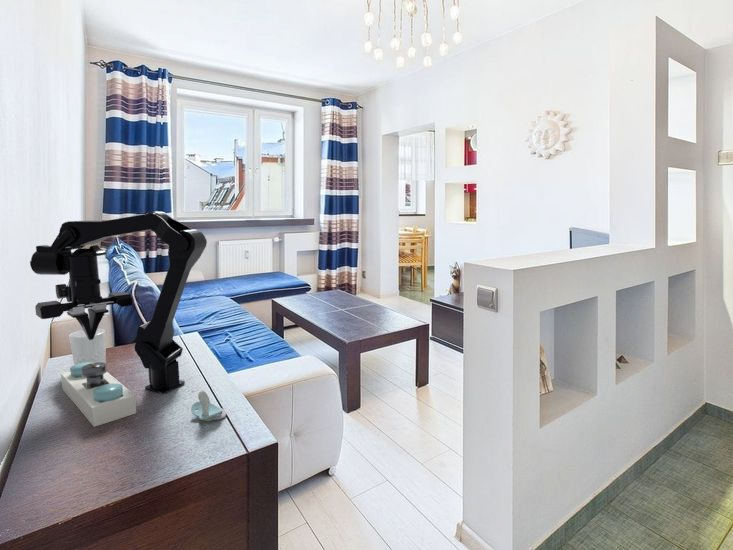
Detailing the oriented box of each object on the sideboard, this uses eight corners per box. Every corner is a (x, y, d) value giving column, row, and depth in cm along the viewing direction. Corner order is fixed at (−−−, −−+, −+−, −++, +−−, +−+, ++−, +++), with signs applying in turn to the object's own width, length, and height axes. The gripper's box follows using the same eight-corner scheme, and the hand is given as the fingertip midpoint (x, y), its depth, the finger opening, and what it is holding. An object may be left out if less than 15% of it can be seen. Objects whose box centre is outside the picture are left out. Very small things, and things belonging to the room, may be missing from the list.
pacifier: (214, 406, 93) (188, 415, 88) (214, 379, 92) (187, 387, 87) (232, 418, 88) (205, 428, 84) (232, 389, 87) (205, 398, 83)
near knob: (127, 409, 89) (126, 388, 88) (99, 418, 85) (97, 396, 84) (119, 401, 92) (117, 381, 91) (92, 409, 88) (89, 388, 87)
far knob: (101, 384, 101) (99, 365, 100) (75, 391, 97) (73, 372, 96) (94, 378, 104) (92, 360, 103) (69, 384, 100) (67, 366, 100)
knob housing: (136, 413, 89) (135, 395, 88) (94, 426, 83) (92, 407, 83) (99, 379, 106) (98, 364, 105) (62, 389, 100) (60, 373, 99)
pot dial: (110, 385, 94) (108, 364, 93) (86, 392, 91) (84, 370, 90) (104, 379, 97) (102, 359, 96) (80, 385, 94) (78, 364, 93)
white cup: (106, 361, 118) (103, 326, 116) (109, 370, 112) (106, 333, 110) (72, 367, 113) (68, 331, 112) (73, 377, 107) (69, 339, 106)
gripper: (115, 267, 110) (121, 325, 113) (26, 275, 97) (34, 341, 99) (132, 271, 103) (137, 333, 106) (37, 281, 89) (46, 352, 92)
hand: (90, 339), depth 101 cm, fingers closed
